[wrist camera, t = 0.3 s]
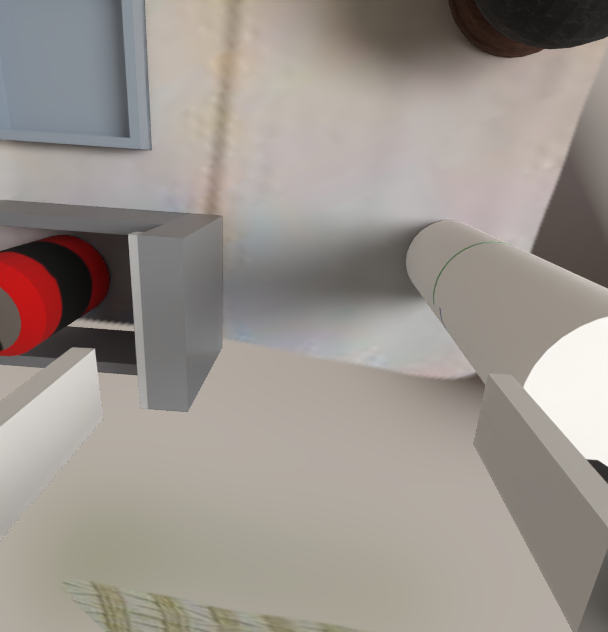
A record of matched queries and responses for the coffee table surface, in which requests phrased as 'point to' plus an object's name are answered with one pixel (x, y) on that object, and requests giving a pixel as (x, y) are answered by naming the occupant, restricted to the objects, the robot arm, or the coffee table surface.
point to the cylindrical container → (521, 323)
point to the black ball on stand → (530, 24)
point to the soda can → (47, 289)
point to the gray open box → (145, 298)
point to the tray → (74, 72)
